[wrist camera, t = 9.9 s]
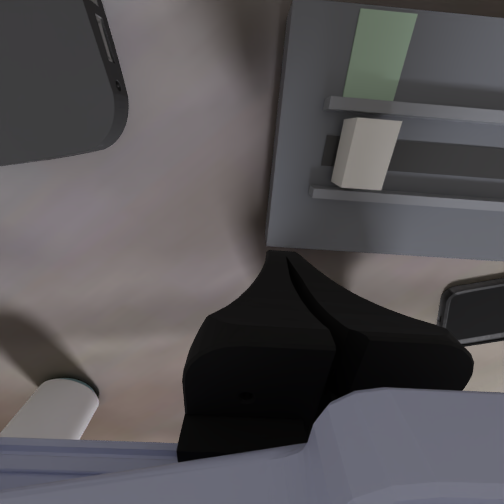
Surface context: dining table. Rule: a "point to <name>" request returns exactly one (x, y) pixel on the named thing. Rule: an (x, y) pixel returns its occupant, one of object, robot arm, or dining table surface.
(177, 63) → the dining table surface
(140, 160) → the dining table surface
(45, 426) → the can
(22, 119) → the media streaming box
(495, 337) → the phone
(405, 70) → the panel
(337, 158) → the block
